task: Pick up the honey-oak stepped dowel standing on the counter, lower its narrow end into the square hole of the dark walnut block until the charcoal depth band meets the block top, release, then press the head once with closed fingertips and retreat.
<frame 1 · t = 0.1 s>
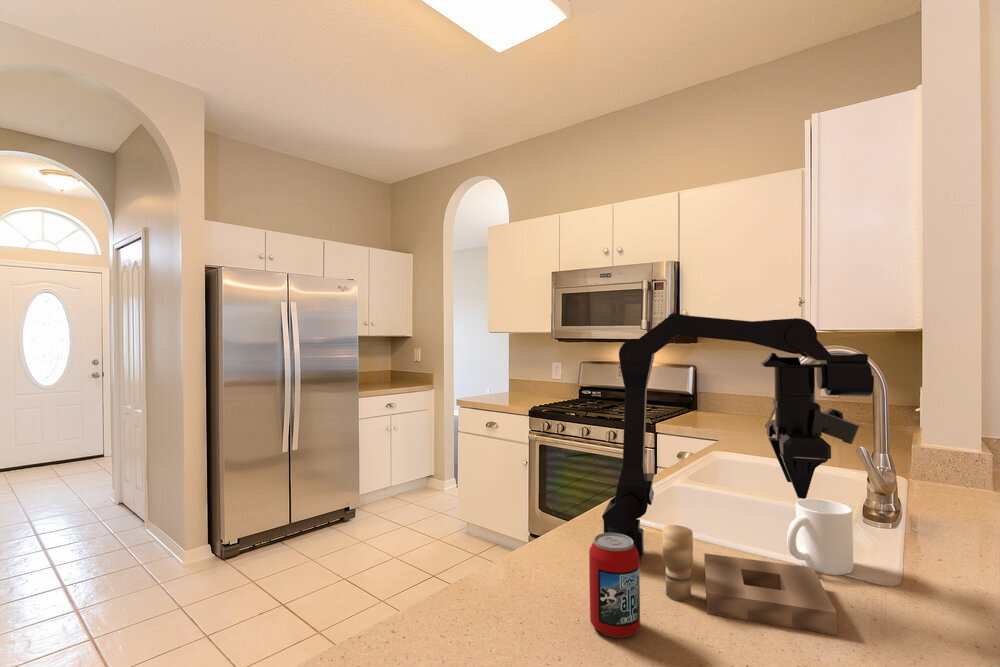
hand: (796, 489, 82), 15 cm above the countertop, fingers open, 9 cm apart
mug: (816, 568, 87), on the countertop
board: (762, 599, 76), on the countertop
peg: (678, 595, 78), on the countertop
beverage can: (614, 628, 69), on the countertop
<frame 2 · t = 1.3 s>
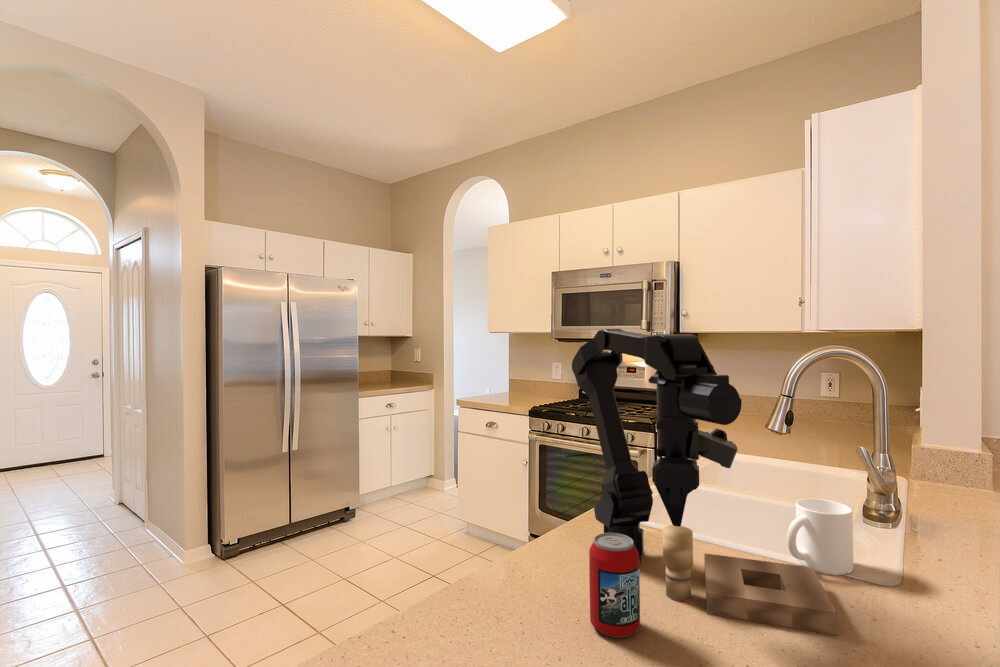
hand: (677, 515, 78), 12 cm above the countertop, fingers open, 9 cm apart
nothing on the countertop moved.
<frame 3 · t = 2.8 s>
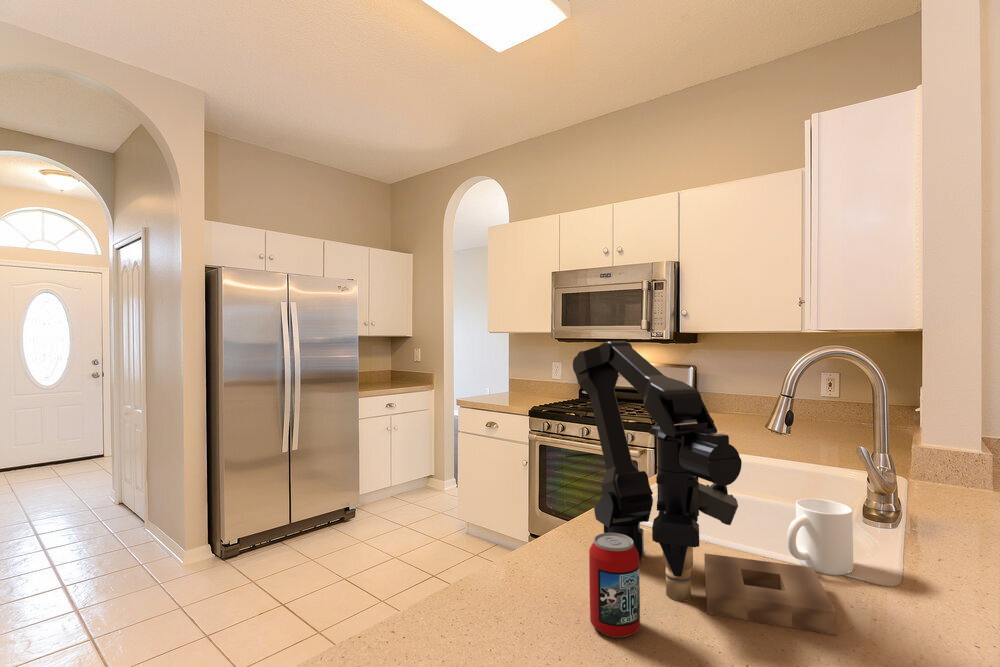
hand: (677, 569, 78), 4 cm above the countertop, fingers closed on peg, 4 cm apart
peg: (678, 595, 78), on the countertop, touching gripper
everything else where it was.
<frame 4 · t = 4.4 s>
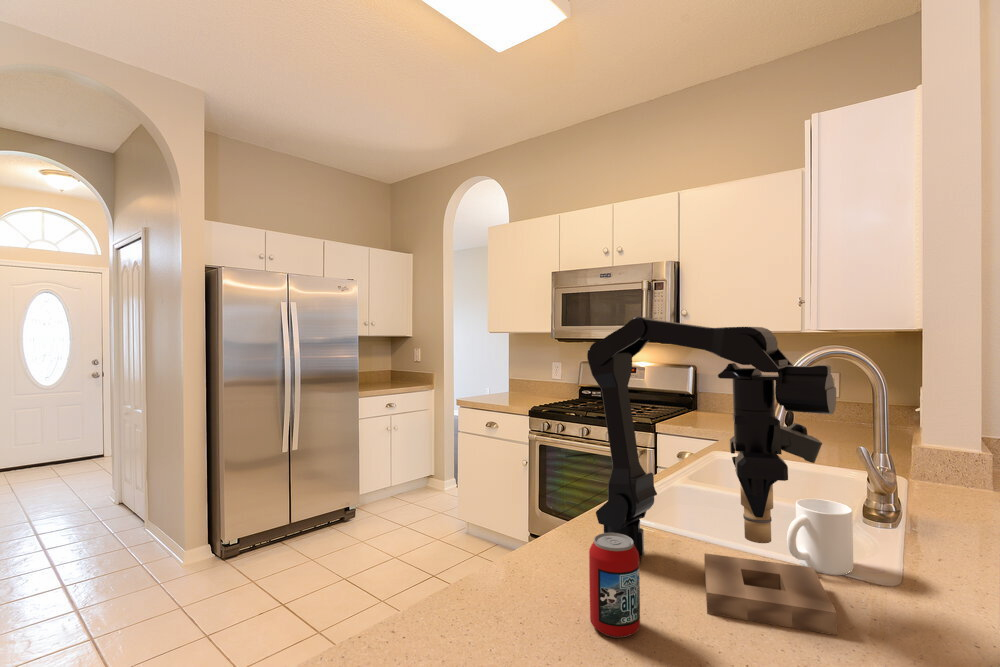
hand: (757, 511, 76), 13 cm above the countertop, fingers closed on peg, 4 cm apart
peg: (757, 538, 76), point 9 cm above the countertop, touching gripper
everything else where it was.
when the fingers open (5 cm above the countertop, at t = 6.3 s): peg stays where it is, resting in board.
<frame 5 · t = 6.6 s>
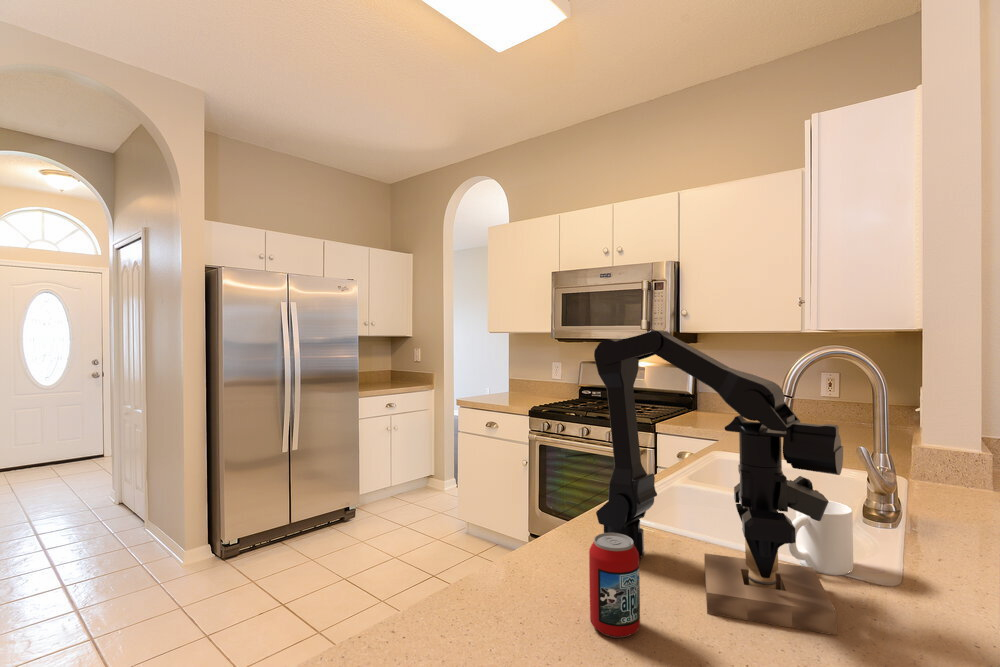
hand: (761, 566, 76), 5 cm above the countertop, fingers open, 7 cm apart
peg: (762, 599, 76), resting in board
everything else where it was.
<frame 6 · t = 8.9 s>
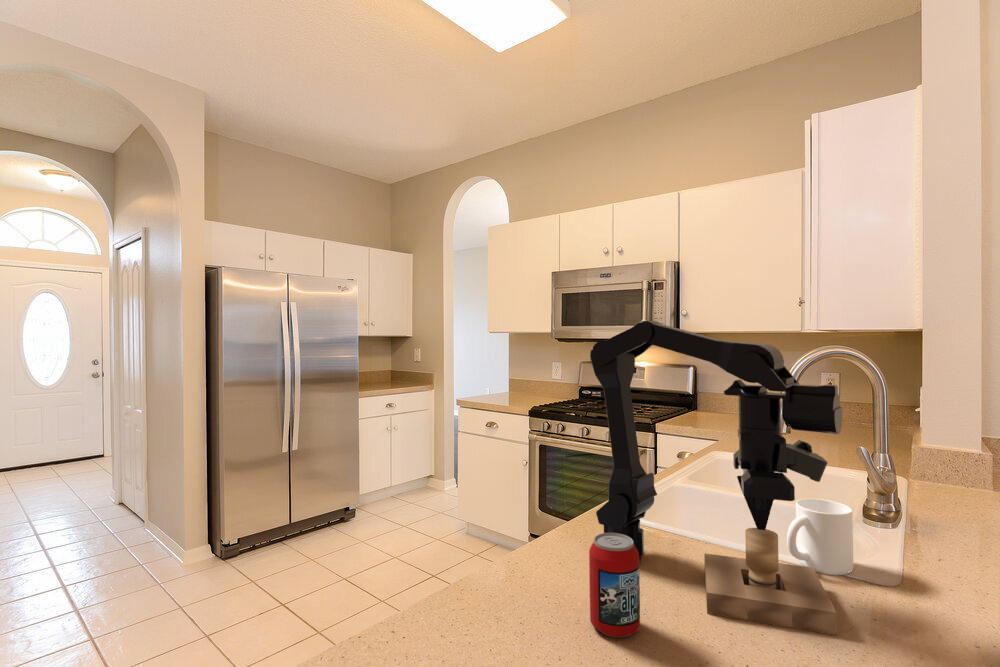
hand: (761, 529, 76), 11 cm above the countertop, fingers closed
nothing on the countertop moved.
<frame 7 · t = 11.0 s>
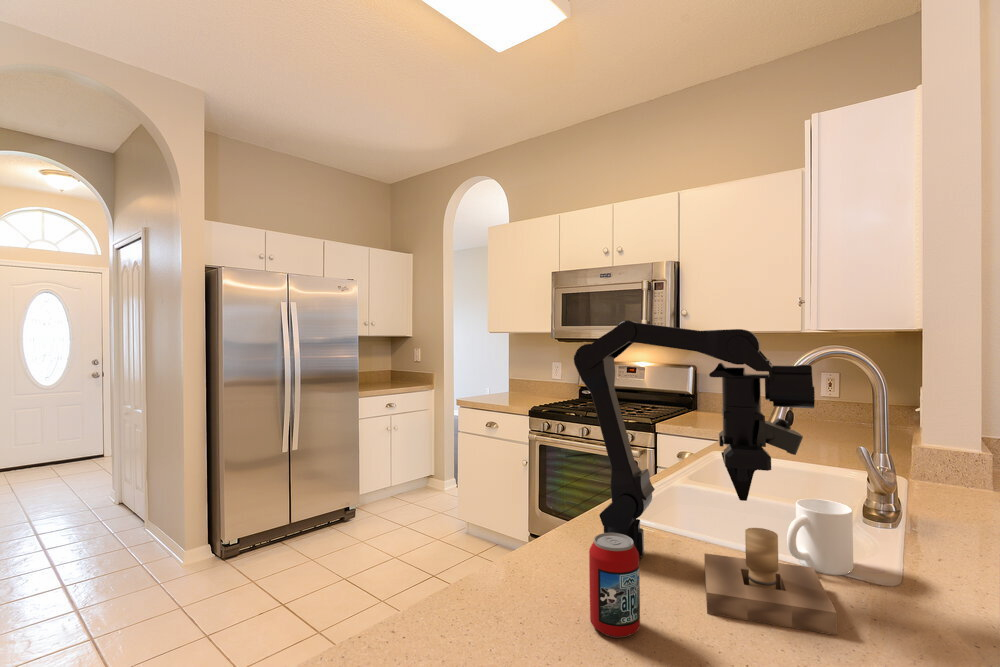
hand: (743, 500, 83), 13 cm above the countertop, fingers closed
nothing on the countertop moved.
at the end: peg 0.0 cm off-centre on the board, point 0.0 cm above the board's base; peg tilted 0°; the gripper is holding nothing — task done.
